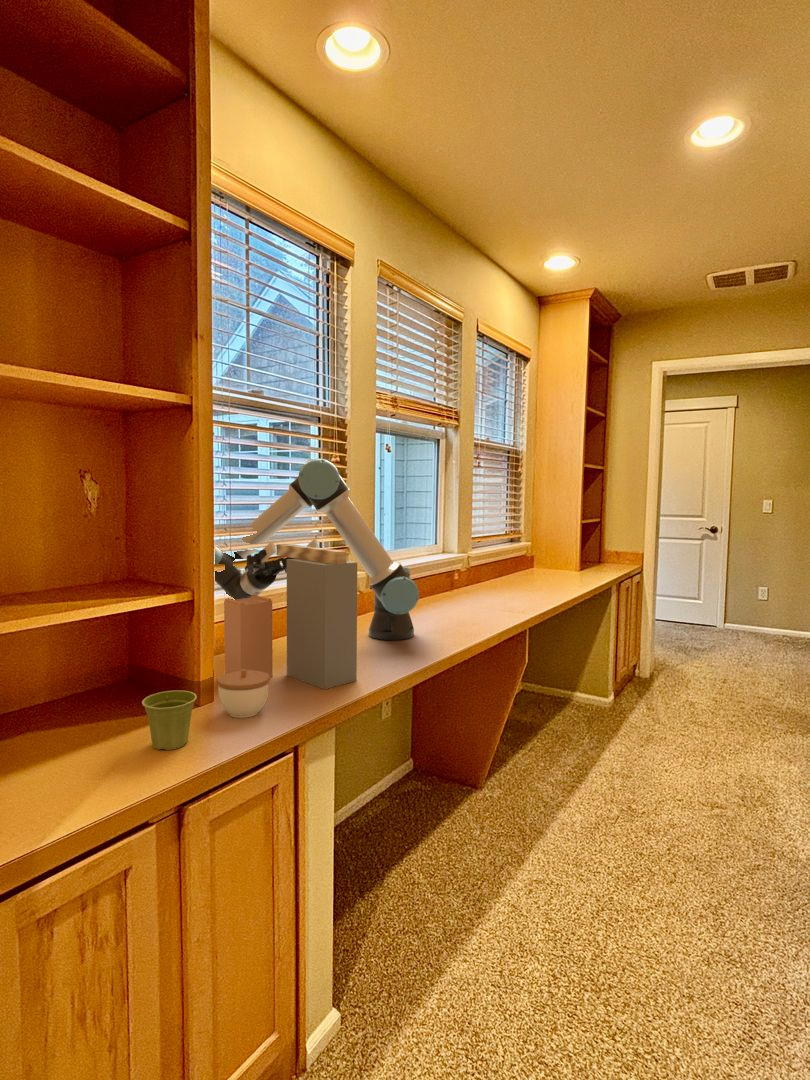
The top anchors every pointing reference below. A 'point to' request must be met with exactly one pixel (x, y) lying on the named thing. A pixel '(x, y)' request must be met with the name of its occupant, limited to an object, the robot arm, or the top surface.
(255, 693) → the lidded jar
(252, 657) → the tall salmon pillar
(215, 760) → the top surface
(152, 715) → the plant pot
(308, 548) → the birch batten
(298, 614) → the slate riser
